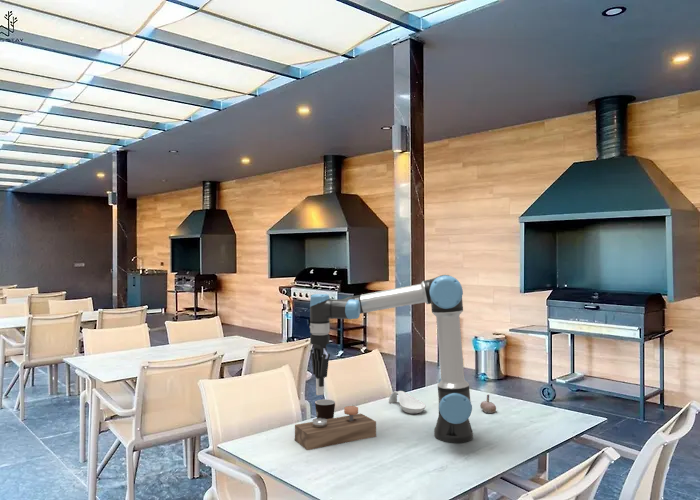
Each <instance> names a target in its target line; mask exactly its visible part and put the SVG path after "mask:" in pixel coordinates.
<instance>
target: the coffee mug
mask: <svg viewBox="0 0 700 500" xmlns="http://www.w3.org/2000/svg"><path fill="white" fill-rule="evenodd" d="M314 402H315V403H314V405H315V413H316V415H315V416H316V418H325V419H332V418H335V417H334V415H335V408H336V401H335V400H334V399H329V398H328V399H318V400H315V401H314Z"/></svg>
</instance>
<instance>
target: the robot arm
mask: <svg viewBox="0 0 700 500" xmlns="http://www.w3.org/2000/svg"><path fill="white" fill-rule="evenodd" d="M463 292H464V291H463V287H462V284H461V282H459V280H458V279H457V278H456V277H454V276H452V275H449V274H442V275H439V276H436V277H433V278H431V279H426V280H422V281H421V283H418V284H417V283H416V284H413V285H407V286H402V287H396V288H390V289H386V290H379V291H375V292H374V291H373V292H369V293H364V294H359V295H353V296H352V295H351V296H347V297H345V298H343V299H340V298H339V299H332V298H330V295H329V294H327V293H314V294H311V296H310V299H309V300H310V302H309V303H310V304H309V312H310V313H309V330H310V331H309V333H310V336H309V339H310V340H309V341H310V342H309V343H310V345H313V347H312V348H313V349H310V350H309V351H310V352H309V353H310V355H311V363H312V364H311V366H312V373H313V375H314V376H315V387H316V388H315V394H316V396H321V395H325V378H327V377H328V370H329V363H330V361H329V360H330V356H331V354H330V353H328V352H327V350H328V349H327V345H329V344H330V334H329V333H330V330H331V329H330V319H331V320H332V319H335V320H337V319H339V320H340V319H341V320H355V319H356V320H357V319H359V318H360V315H362V314H365V313H371V312H378V311H383V310H387V309H388V310H389V309H395V308H399V307H406V306H412V305H416V304H417V305H418V304H422V303H423V304H424V303H425V304H426V305H430V306H431V313H432V314H433V315H434V316H435V319H436V330H437V342H438V344H437V345H438V354H439V355H438V356H439V367H440V368H439V369H440V379H439V380H438V383H437V394H438V395H437V396H438V418H437V420H436V424H435V427H434V431H433V432H434V435H433V436H434V437H435V438H436V439H437V440H439V441H442V442H446V443H452V444H455V443H456V444H457V443H458V444H462V443H467V442H470V441H472V440H473V439H474V432H473V429H472V426H471V423H470V419H469V418H470V416H471V414H472V411H473V405H472V401H471V393H470V391H471V390H470V384H469V381H468V380H467V379H466V378H465V367H464V356H463V344H462V331H461V330H462V329H461V320H460V315H461V314H462V313H463V311H464V306H463V305H464V304H463V294H464V293H463Z"/></svg>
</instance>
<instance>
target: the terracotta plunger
mask: <svg viewBox="0 0 700 500" xmlns="http://www.w3.org/2000/svg"><path fill="white" fill-rule="evenodd" d="M343 410H344V414H345V415H346V416H349V422H350V421H353V415H356V414H359V406H357V405H347V406H345V407H344V409H343Z"/></svg>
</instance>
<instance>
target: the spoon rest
mask: <svg viewBox="0 0 700 500" xmlns="http://www.w3.org/2000/svg"><path fill="white" fill-rule="evenodd" d="M398 402H399V406H400V408H401V409H402V410H403V412H405V413H407V414H410V415H411V414H412V415H416V414H421V413H422V412H424V411H425V409H426V408H427V406H426V403H424V402H422V401H421V400H420V399H417V398H416V397H414V396H412V395H410V394H408V393H407V392H406V391H403V390H398V391H392V392H391V394H390V396H389V398H388V403H389V404H394V403H395V404H396V403H398Z"/></svg>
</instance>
